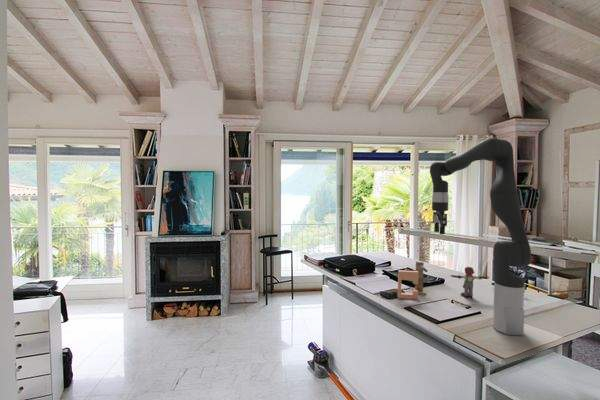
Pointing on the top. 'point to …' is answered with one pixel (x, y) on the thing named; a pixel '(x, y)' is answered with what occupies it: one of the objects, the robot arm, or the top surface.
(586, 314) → the top surface
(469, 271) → the toy
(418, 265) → the stand
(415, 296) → the tan c-shaped block
